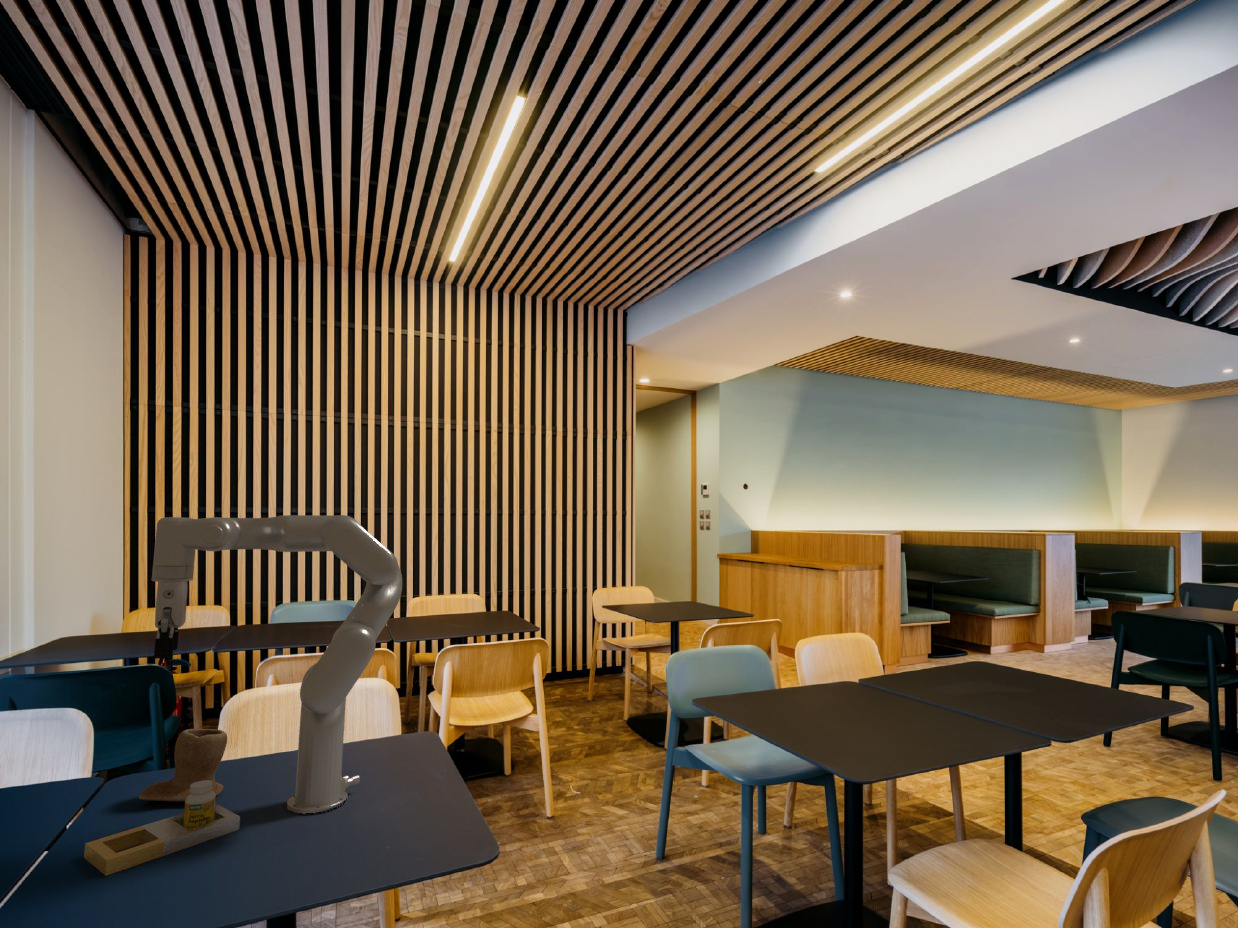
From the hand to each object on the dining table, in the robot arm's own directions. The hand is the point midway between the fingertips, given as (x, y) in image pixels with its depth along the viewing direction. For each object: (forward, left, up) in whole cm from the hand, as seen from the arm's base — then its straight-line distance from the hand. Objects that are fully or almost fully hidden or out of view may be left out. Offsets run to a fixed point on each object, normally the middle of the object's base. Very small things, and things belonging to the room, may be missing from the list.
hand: (165, 653), depth 142 cm
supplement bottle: (-4, +11, -35) cm, 37 cm away
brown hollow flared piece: (-11, -10, -35) cm, 38 cm away
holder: (+2, +11, -35) cm, 37 cm away
